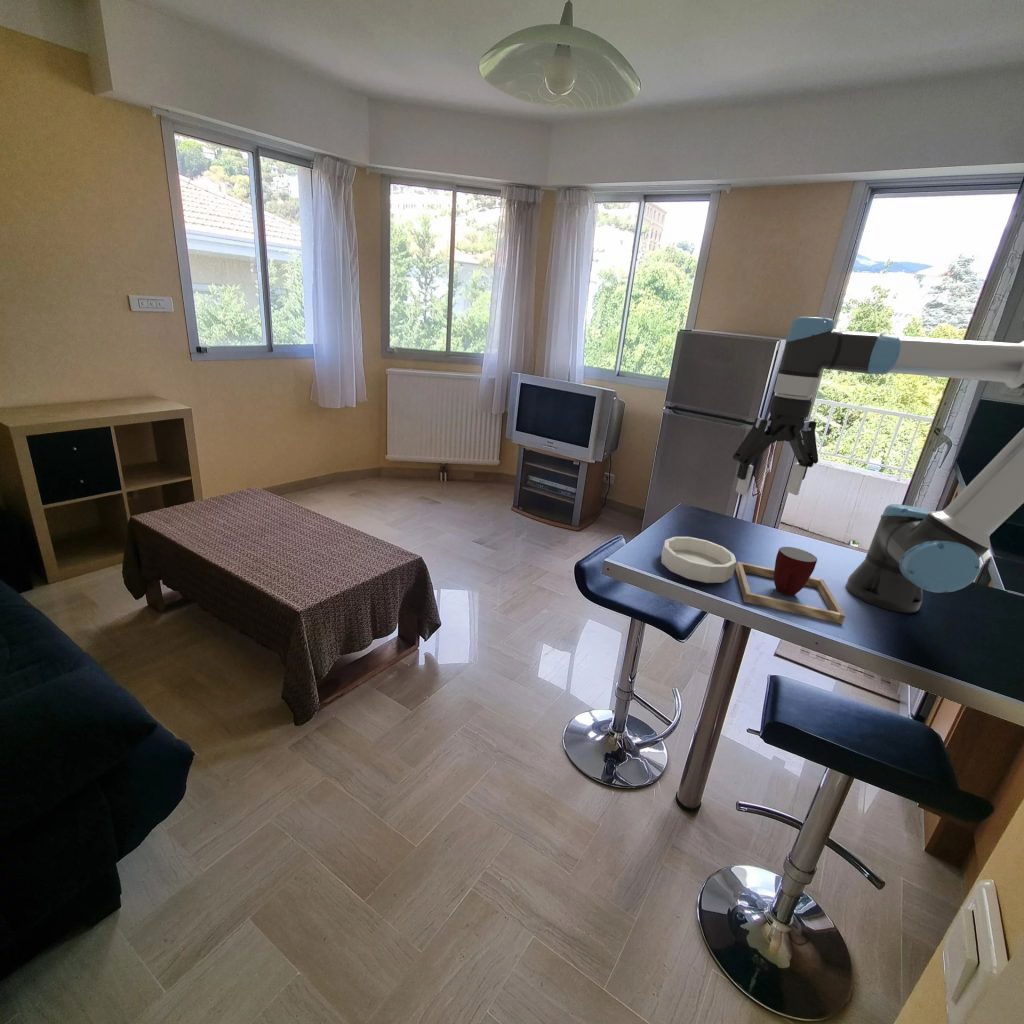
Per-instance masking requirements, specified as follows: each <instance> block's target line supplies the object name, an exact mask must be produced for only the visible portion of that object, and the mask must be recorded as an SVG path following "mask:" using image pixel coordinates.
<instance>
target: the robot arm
mask: <svg viewBox="0 0 1024 1024" xmlns="http://www.w3.org/2000/svg"><path fill="white" fill-rule="evenodd" d="M834 325H835V321H834V319H833V318H827V317H817V316H815V317H814V316H798V317H796V318H794V320H792V322H791V325H790V328H789V331H788V335H787V338H786V339H785V343H784V349H783V353H782V357H781V361H780V366H779V370H778V373H777V378H776V381H775V386H774V390H773V392H774V393H775V395H773V396H772V397H771V401H770V404H769V409H768V411H769V417H768V418H767V419H766V418H765V419H764V418H761V417H756V418H755V419H754V422H753V425H752V427H751V429H750V430H749V432H748V433H747V434H746V436H745V438H744V439H743V441H741V443H740V445H739V446H738V447H737V450H736V451H735V452H734V453H733V456H732V459H733V460H734V461H736V462H738V463H739V466H738V471H737V475H736V477H737V479H738V480H737V483H736V488H735V492H736V493H738V494H739V495H742V496H747V494H748V491H749V486H750V482H751V478H752V476H753V475H752V474H753V471H754V465H752V464H753V463H754V462H755V461H756V460H757V459H758V458H759V457H760V455H762V454H763V453H764V452H765V451H766V449H768V448H769V447H770V446H771V445H772V444H775V443H776V442H788V443H789V444H790V445H789V446H790V447H791V451H792V452H793V454H794V456H795V459H796V460H797V463H794V464H793V467H792V470H791V473H790V476H789V479H788V480H789V481H788V484H787V488H786V492H787V493H789V494H792V495H794V496H799V493H800V489H801V488H802V487H801V486H802V482H803V480H805V479H806V475H807V473H808V468H812V467H813V466H814V464H815V465H816V464H817V463H818V462H819V455H818V454H819V453H818V447H817V446H818V445H817V439H816V438H817V437H816V428H817V421H813V420H809V419H807V418H808V417H809V415H810V414H809V413H810V410H811V408H812V404H813V403H812V402H813V401H812V400H811V398H813V397H814V396H815V393H816V389H817V385H818V381H819V378H820V375H821V371H822V370H827V371H828V370H830V371H831V370H833V371H840V372H846V373H847V372H849V373H858V374H867V375H869V376H870V375H886V374H899V375H900V374H902V375H915V376H926V377H935V378H936V377H937V378H949V379H959V380H960V379H961V380H962V379H963V380H973V381H985V382H998V383H1004V384H1005V386H1006V387H1008V388H1009V389H1018V390H1019V389H1020V390H1024V340H1022V341H1020V342H1019V343H1015V342H1001V341H1000V342H999V341H984V340H983V341H982V340H969V339H968V340H967V339H966V340H965V339H955V338H953V339H952V338H936V337H935V338H934V337H922V336H921V337H919V336H901V335H896V334H887V333H884V332H880V333H879V332H867V331H866V332H865V331H852V330H851V331H850V330H848V331H847V330H840V329H839V330H838V329H835V327H834ZM1023 504H1024V427H1023V428H1022V429H1020V431H1019V432H1018V433H1016V435H1015V436H1014V437H1013V438H1012V439H1011V440H1009V442H1008V443H1007V444H1005V446H1004V447H1003V448H1002V449H1001V450H1000V451H999V452H998V453H997V454H996V456H994V457H993V459H991V461H989V463H988V464H987V465H986V466H985V467H984V468H983V469H982V470H981V471H980V472H979V473H978V474H977V475H976V476H975V477H974V478H973V479H972V480H971V481H970V483H968V485H966V486H965V488H963V490H962V491H961V492H960V493H959V494H957V496H956V497H955V498H954V499H953V500H952V501H951V502H950V503H949V504H948V505H947V506H946V507H945V508H944V509H943V510H942V509H941V510H935V511H933V510H929V509H926V508H922V507H921V508H920V507H915V506H912V505H911V506H910V505H905V504H898V503H897V504H896V503H891V504H888V505H887V506H886V507H885V509H884V510H883V512H882V514H881V515H880V518H879V519H880V520H879V522H878V525H877V527H876V529H875V532H874V535H873V538H872V540H871V543H870V545H869V548H868V550H867V553H866V556H865V558H864V559H863V561H862V562H861V563H860V564H859V566H857V568H856V569H854V571H853V572H852V573H851V574H850V575H849V577H848V579H847V581H846V584H845V587H846V589H847V590H848V592H850V593H851V594H852V595H853V596H855V597H857V598H858V599H860V600H862V601H864V602H866V603H867V604H871V605H873V606H876V607H878V608H881V609H885V610H888V611H892V612H897V613H902V614H903V613H905V614H911V613H916V612H918V611H919V609H920V607H921V606H922V603H923V590H924V591H926V592H932V593H940V594H941V593H952V592H956V591H960V590H962V589H964V588H966V587H968V586H969V585H971V584H972V583H973V582H974V581H975V580H976V579H977V577H978V576H979V574H980V570H981V567H980V565H981V562H980V559H981V557H982V556H984V555H985V554H986V552H987V551H989V550H990V548H991V547H992V546H991V540H990V537H991V534H993V533H994V532H995V531H996V530H997V529H998V528H999V527H1000V526H1002V524H1004V522H1005V521H1006V520H1007V519H1009V518H1010V516H1011V515H1013V514H1014V512H1016V510H1018V509H1019V508H1020V507H1022V505H1023Z"/></svg>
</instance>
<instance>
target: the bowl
mask: <svg viewBox="0 0 1024 1024" xmlns="http://www.w3.org/2000/svg"><path fill="white" fill-rule="evenodd" d="M662 547H663V548H662V551H661V557H660V560H661V561H660V563H661V564H662V565H663V566H665V567H666V568H667V569H668V571H670V572H671V573H674V574H676V575H679V576H681V577H683V578H685V579H688V580H692V581H697V582H701V583H706V584H710V583H711V584H715V583H721V584H722V583H725V582H727V581H728V580H730V579H732V578H733V574H734V572H735V568H736V565H737V560H736V559H737V558H736V557H735V553H733V552H731V551H730V550H729V549H727V548H726V547H724V546H722V545H720V544H717V543H715V542H711V541H709V540H706V539H701V538H697V537H692V536H672V537H670V538H668V539H664V543H663V546H662Z"/></svg>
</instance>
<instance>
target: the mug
mask: <svg viewBox="0 0 1024 1024" xmlns="http://www.w3.org/2000/svg"><path fill="white" fill-rule="evenodd" d="M817 563H818V558H817V556H815V555H814V554H813V553H811V552H808V551H806V550H804V549H801V548H796V547H792V546H782V547H780V548H778V551H777V554H776V557H775V563H774V569H775V570H774V578H773V583H774V587H775V590H776V592H777V593H779V594H780V595H783V596H787V597H793V596H795V595H797V594H798V593H799V592H800V591H801V590H802V589H803V588H804V587H805V586H806V585H805V584H806V582H807V581H808V579H809V577H812V574H813V572H814V571H815V569H816V566H817Z"/></svg>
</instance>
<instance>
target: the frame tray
mask: <svg viewBox="0 0 1024 1024" xmlns="http://www.w3.org/2000/svg"><path fill="white" fill-rule="evenodd" d="M734 570H735V571H736V577H737V579H738V584H739V587H740V592H741V596H742V599H743V602H745V603H749V604H753V605H758V606H761V607H762V606H763V607H766V608H771V609H775V610H779V611H784V612H788V613H793V614H797V615H802V616H805V617H806V616H807V617H810V618H813V619H814V618H815V619H819V620H823V621H827V622H828V621H829V622H832V623H836V624H841V625H843V623H844V621H845V618H846V614H845V613H844V611H843V609H842V608H841V606H840V605H839V603H838V601H837V600H836V598H835V597H834V595H833V593H832V591H831V590H830V588H829V586H828V585H827V583H826V582H825V580H824V579H822V578H819V577H818V578H817V577H812V576H810V577H809V579H808V581H807V582H806V584H805V586H808V587H813V588H816V589H817V590H818V592H819V593H820V595H821V597H822V598H823V600H824V602H825V604H826V606H827V607H828V609H825V608H820V607H816V606H811V605H806V604H804V603H803V604H802V603H799V602H798V603H797V602H793V601H788V600H785V599H781V598H777V597H771V596H768V595H763V594H758V593H753V592H751V589H750V586H749V583H748V580H747V576H746V573H747V574H752V575H757V576H762V577H767V578H771V579H774V570H775V568H769V567H766V566H762V565H761V566H760V565H756V564H751V563H745V562H742V561H736V565H735V568H734Z"/></svg>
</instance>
